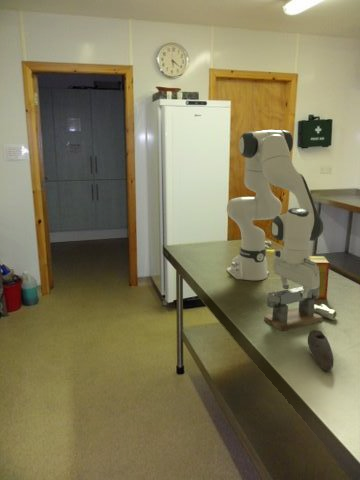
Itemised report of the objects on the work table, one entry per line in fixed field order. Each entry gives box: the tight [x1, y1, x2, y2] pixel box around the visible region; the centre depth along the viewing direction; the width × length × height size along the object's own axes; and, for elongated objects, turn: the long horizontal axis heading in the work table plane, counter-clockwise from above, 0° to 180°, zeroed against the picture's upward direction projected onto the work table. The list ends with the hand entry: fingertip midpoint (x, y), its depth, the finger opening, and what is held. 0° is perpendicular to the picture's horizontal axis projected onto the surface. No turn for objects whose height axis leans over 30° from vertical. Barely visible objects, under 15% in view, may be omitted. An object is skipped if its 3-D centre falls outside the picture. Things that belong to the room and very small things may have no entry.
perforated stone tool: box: [307, 329, 334, 372], centre depth 108 cm, size 15×5×7 cm, turn 174°
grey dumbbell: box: [266, 286, 319, 309], centre depth 133 cm, size 4×22×4 cm, turn 114°
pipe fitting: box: [314, 303, 337, 321], centre depth 139 cm, size 8×4×7 cm
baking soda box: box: [310, 255, 330, 300], centre depth 157 cm, size 10×6×16 cm
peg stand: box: [263, 299, 323, 332], centre depth 134 cm, size 10×18×8 cm, turn 114°
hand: (294, 292), depth 133 cm, fingers open, 8 cm apart
